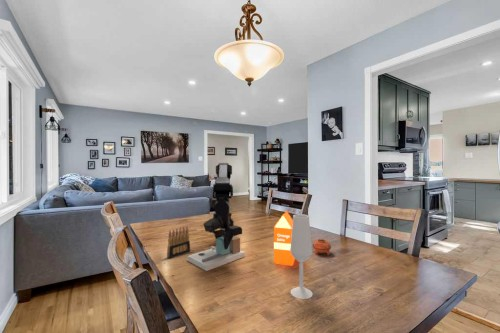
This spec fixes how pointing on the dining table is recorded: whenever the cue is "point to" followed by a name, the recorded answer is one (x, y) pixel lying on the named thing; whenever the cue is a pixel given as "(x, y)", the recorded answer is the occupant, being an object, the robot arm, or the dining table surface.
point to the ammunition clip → (178, 243)
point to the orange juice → (283, 240)
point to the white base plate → (217, 256)
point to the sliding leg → (220, 246)
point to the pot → (322, 246)
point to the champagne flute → (301, 250)
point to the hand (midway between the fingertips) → (222, 248)
